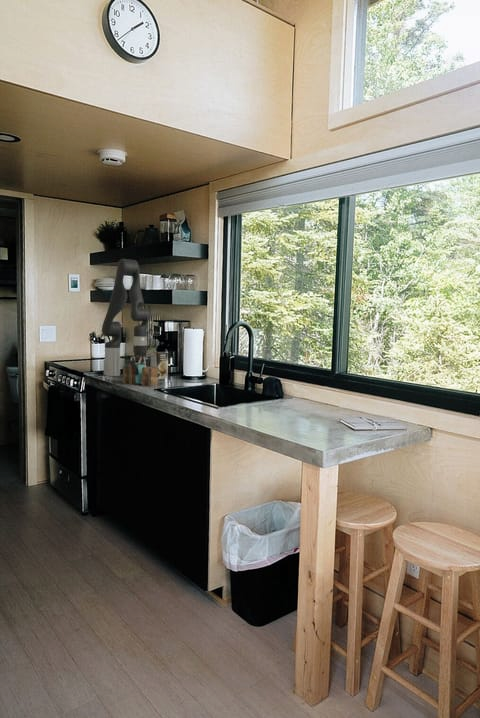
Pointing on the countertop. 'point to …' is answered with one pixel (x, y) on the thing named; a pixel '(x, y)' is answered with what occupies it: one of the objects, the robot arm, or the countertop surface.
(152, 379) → the domino
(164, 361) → the coffee box
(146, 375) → the domino
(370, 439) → the countertop surface
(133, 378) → the domino
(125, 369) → the domino
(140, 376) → the domino
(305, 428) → the countertop surface
